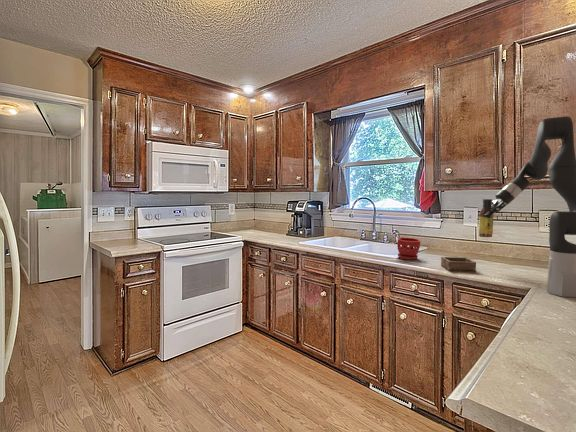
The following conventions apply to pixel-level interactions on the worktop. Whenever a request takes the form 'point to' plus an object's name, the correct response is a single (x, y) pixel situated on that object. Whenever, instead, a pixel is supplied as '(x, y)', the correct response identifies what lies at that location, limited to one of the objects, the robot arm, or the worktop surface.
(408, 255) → the plant pot
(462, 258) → the brown wooden tray
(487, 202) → the sauce bottle
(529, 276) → the worktop surface
